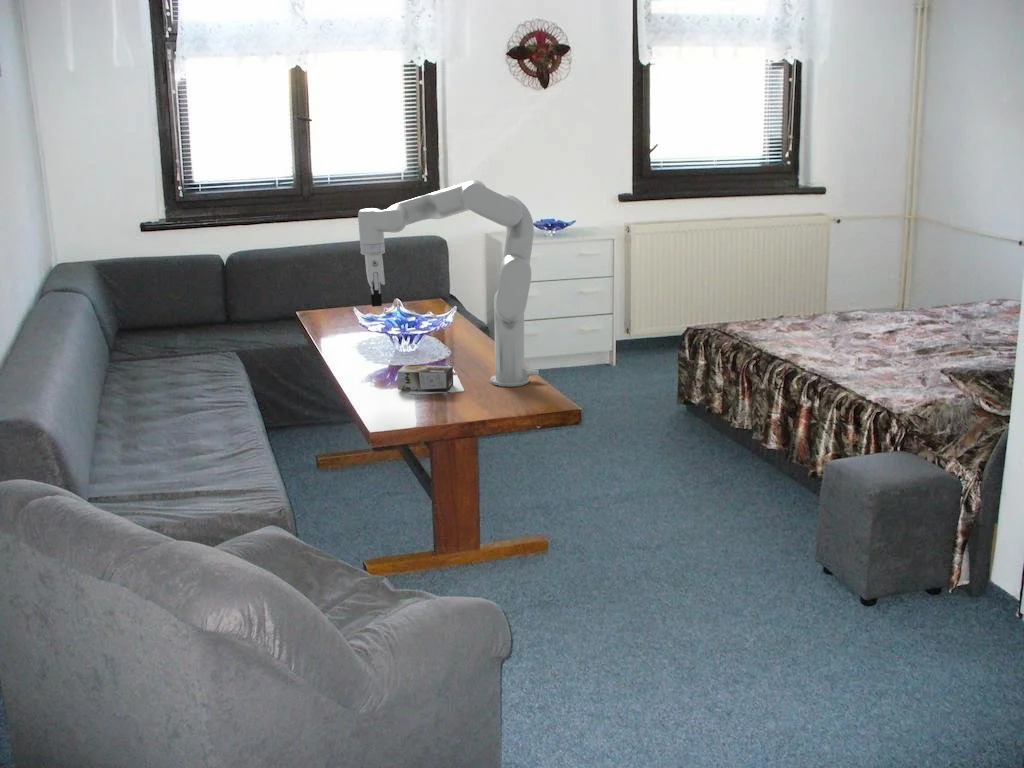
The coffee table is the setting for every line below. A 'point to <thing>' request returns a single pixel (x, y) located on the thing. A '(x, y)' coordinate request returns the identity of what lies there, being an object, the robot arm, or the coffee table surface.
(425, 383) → the coffee box
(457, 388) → the flat white panel
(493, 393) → the coffee table surface
